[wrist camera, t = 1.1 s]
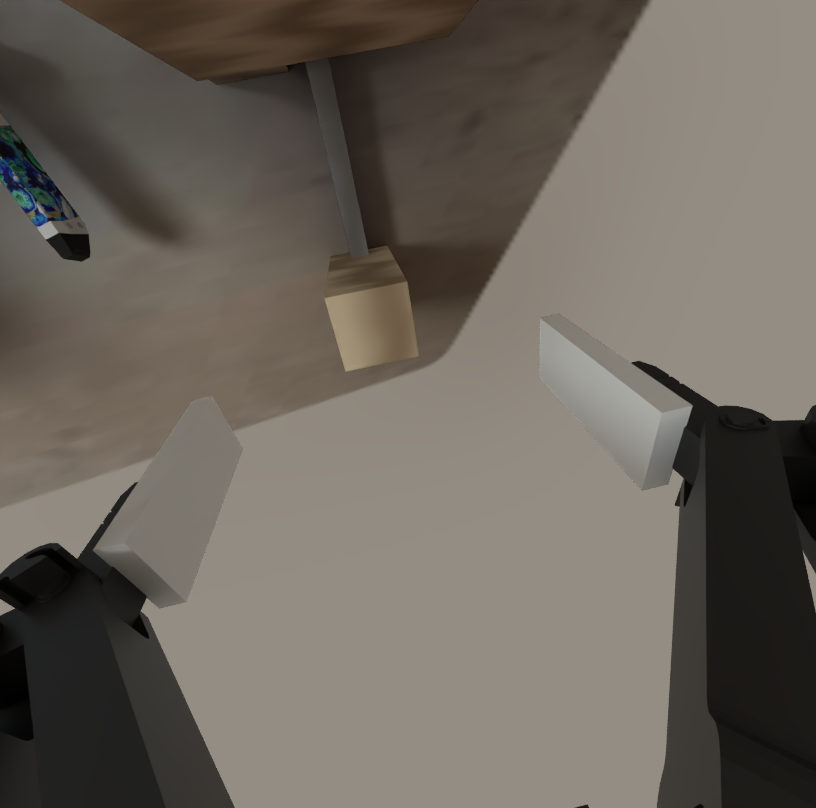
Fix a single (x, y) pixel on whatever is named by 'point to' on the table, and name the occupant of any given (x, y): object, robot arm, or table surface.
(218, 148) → the table surface
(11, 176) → the knife
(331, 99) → the blade tool
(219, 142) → the table surface
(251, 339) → the table surface
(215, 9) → the cabinet
